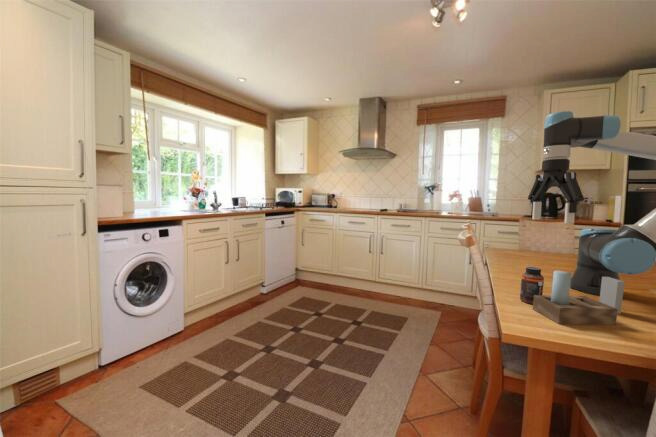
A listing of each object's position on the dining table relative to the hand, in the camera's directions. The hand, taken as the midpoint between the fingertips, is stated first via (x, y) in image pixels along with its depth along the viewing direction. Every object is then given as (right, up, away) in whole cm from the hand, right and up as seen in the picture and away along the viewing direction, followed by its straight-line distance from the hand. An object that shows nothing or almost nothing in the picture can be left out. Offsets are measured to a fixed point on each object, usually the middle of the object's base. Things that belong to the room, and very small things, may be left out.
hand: (551, 221), depth 104 cm
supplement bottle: (-12, -27, -6) cm, 30 cm away
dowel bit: (-11, -27, -18) cm, 35 cm away
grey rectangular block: (+9, -27, -12) cm, 31 cm away
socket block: (-7, -28, -18) cm, 33 cm away
